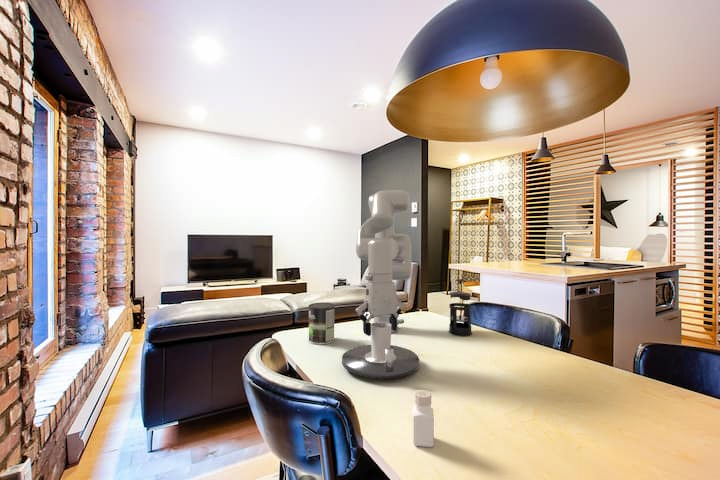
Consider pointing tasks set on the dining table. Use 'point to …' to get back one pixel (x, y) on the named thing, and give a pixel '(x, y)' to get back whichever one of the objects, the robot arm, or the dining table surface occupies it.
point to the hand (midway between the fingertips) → (380, 332)
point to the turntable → (380, 362)
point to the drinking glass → (380, 339)
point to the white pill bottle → (423, 420)
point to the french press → (455, 327)
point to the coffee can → (321, 323)
